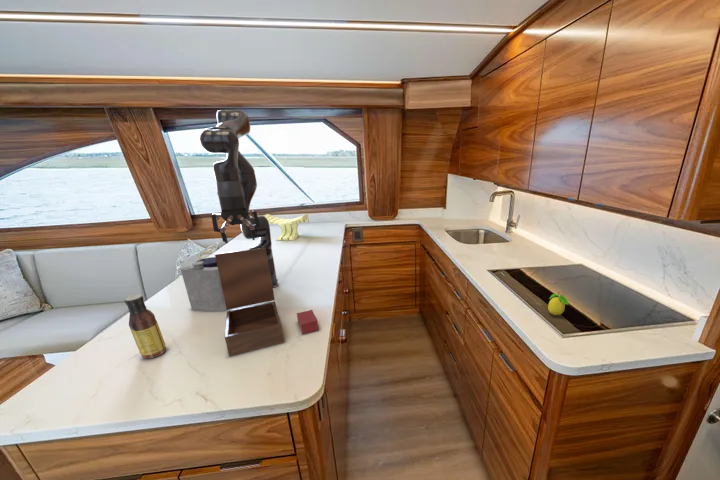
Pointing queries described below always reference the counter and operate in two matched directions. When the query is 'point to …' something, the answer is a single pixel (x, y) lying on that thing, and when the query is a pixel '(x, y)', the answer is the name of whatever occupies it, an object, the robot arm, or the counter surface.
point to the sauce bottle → (144, 328)
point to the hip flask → (203, 287)
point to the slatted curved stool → (288, 226)
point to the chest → (252, 328)
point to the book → (307, 322)
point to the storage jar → (209, 262)
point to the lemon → (557, 304)
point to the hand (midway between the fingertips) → (240, 241)
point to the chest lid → (245, 277)
